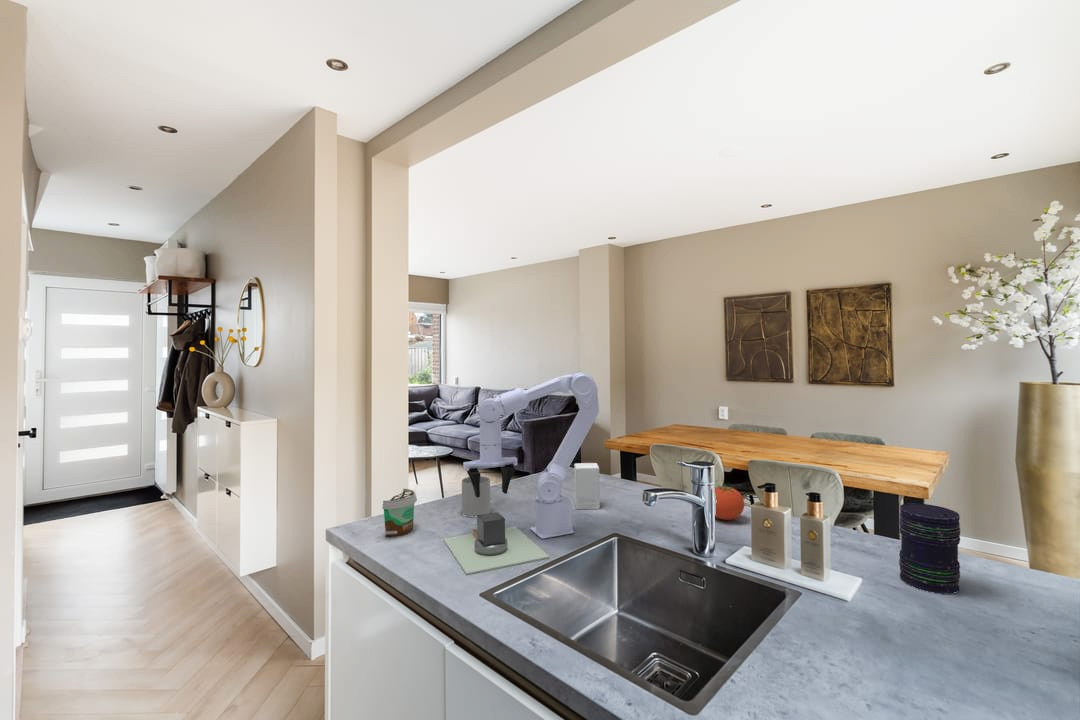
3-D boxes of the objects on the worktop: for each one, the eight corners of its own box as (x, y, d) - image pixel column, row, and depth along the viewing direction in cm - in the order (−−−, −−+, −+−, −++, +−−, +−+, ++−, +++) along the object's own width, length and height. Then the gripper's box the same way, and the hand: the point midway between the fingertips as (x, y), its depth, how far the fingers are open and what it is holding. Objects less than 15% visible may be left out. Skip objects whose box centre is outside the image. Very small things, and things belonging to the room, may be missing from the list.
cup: (475, 506, 157) (475, 474, 156) (495, 511, 152) (495, 478, 152) (456, 514, 150) (455, 481, 150) (476, 519, 145) (476, 485, 145)
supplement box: (600, 509, 152) (599, 468, 152) (575, 509, 152) (575, 468, 152) (597, 501, 160) (597, 462, 159) (574, 502, 160) (573, 462, 159)
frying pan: (512, 552, 120) (511, 527, 120) (480, 558, 117) (479, 533, 117) (491, 531, 134) (491, 508, 134) (462, 536, 131) (462, 513, 131)
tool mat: (515, 527, 138) (515, 526, 138) (549, 558, 118) (549, 556, 118) (443, 540, 130) (443, 538, 130) (466, 575, 109) (466, 573, 109)
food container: (404, 540, 130) (403, 502, 129) (383, 539, 131) (382, 501, 131) (424, 524, 142) (424, 488, 142) (404, 522, 143) (404, 488, 143)
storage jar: (888, 577, 106) (888, 507, 105) (917, 568, 109) (917, 500, 109) (941, 598, 96) (942, 521, 96) (971, 588, 100) (971, 514, 100)
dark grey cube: (498, 535, 126) (497, 512, 126) (505, 543, 121) (504, 518, 121) (477, 539, 124) (476, 515, 123) (483, 547, 119) (483, 522, 118)
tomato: (750, 525, 137) (750, 489, 137) (712, 525, 137) (712, 489, 137) (736, 512, 147) (736, 479, 147) (701, 513, 147) (701, 479, 147)
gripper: (468, 449, 127) (468, 502, 127) (521, 444, 133) (522, 495, 133) (460, 444, 133) (461, 494, 134) (512, 439, 139) (512, 488, 139)
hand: (491, 494), depth 134 cm, fingers open, 7 cm apart
